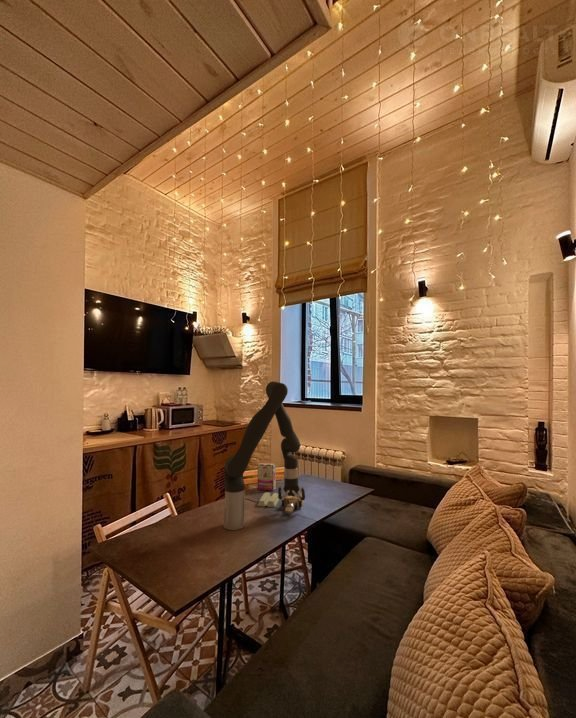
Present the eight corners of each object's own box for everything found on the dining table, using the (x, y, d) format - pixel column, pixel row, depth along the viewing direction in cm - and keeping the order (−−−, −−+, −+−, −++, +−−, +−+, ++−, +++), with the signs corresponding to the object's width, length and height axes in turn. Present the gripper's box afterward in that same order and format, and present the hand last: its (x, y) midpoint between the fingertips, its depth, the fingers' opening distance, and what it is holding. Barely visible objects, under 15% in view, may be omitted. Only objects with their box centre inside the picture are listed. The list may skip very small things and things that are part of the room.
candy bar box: (276, 488, 214) (275, 463, 215) (273, 491, 209) (273, 465, 210) (260, 487, 217) (260, 462, 218) (257, 489, 212) (257, 464, 214)
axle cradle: (257, 506, 184) (257, 500, 185) (263, 497, 198) (263, 492, 198) (275, 507, 183) (275, 501, 183) (280, 498, 196) (280, 493, 197)
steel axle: (293, 514, 171) (291, 506, 172) (286, 516, 172) (283, 508, 172) (297, 504, 185) (295, 497, 185) (291, 506, 186) (289, 499, 186)
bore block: (284, 508, 181) (284, 497, 181) (289, 498, 196) (289, 488, 197) (300, 509, 179) (300, 498, 179) (304, 499, 195) (304, 489, 195)
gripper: (305, 474, 178) (306, 505, 177) (279, 473, 181) (280, 504, 179) (303, 478, 170) (304, 510, 169) (276, 477, 173) (277, 509, 172)
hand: (291, 507), depth 174 cm, fingers open, 8 cm apart
